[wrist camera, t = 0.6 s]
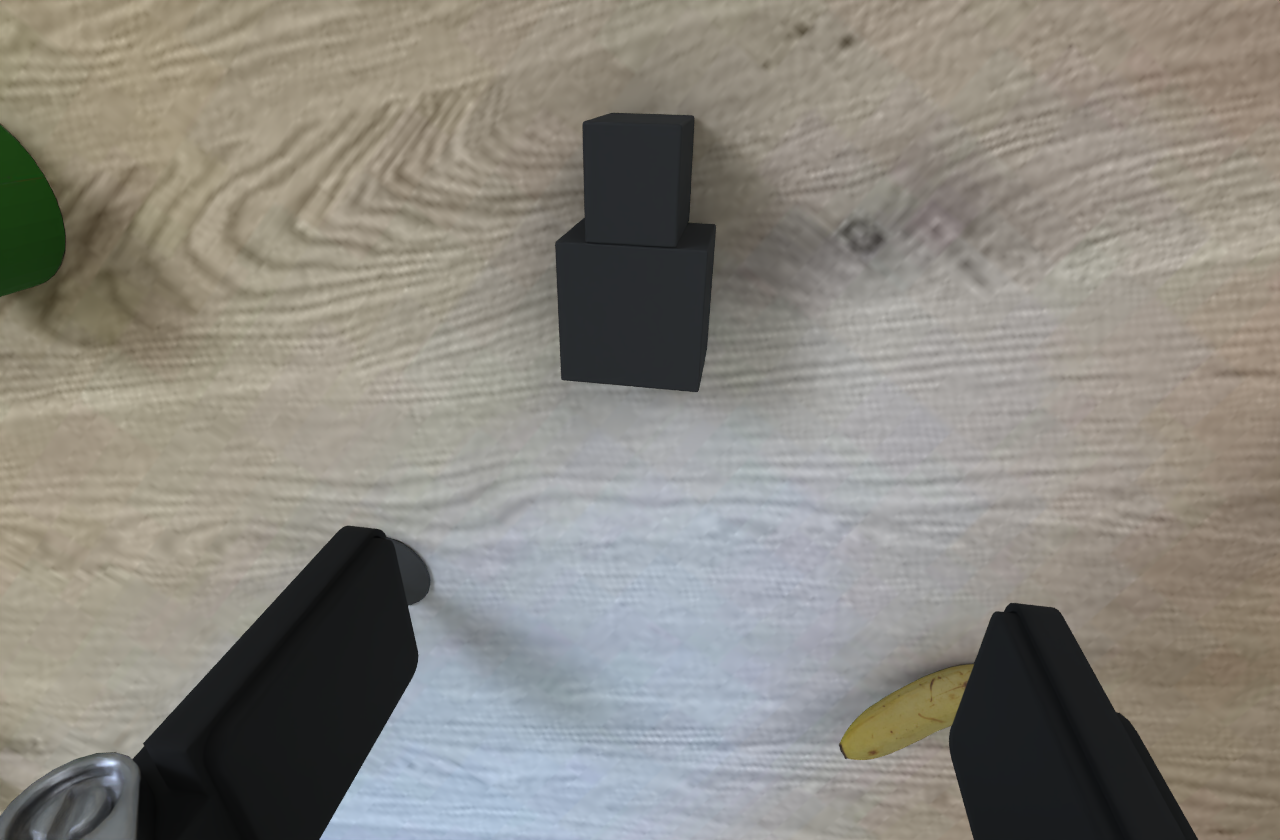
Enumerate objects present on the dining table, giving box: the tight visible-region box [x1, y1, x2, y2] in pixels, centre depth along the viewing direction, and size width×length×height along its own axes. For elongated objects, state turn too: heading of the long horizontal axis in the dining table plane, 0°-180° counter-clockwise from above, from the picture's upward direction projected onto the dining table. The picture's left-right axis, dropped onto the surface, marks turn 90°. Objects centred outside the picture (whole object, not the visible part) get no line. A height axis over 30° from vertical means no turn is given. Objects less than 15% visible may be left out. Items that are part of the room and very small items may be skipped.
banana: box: [839, 664, 974, 760], centre depth 31 cm, size 10×2×4 cm, turn 114°
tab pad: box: [555, 113, 716, 392], centre depth 23 cm, size 9×5×4 cm, turn 179°
